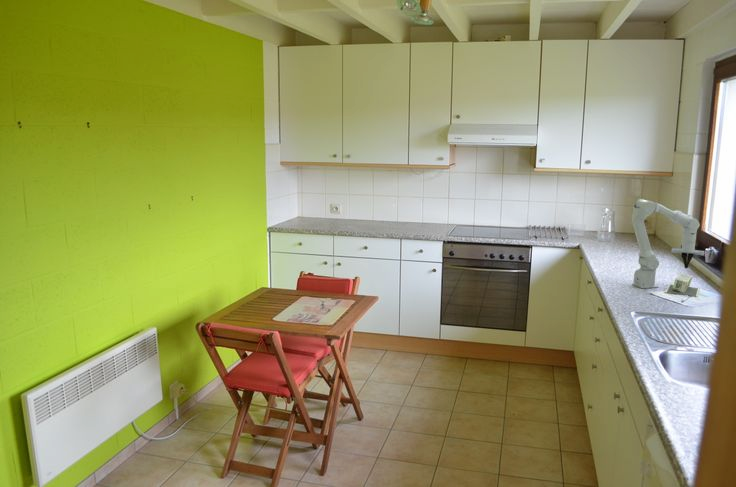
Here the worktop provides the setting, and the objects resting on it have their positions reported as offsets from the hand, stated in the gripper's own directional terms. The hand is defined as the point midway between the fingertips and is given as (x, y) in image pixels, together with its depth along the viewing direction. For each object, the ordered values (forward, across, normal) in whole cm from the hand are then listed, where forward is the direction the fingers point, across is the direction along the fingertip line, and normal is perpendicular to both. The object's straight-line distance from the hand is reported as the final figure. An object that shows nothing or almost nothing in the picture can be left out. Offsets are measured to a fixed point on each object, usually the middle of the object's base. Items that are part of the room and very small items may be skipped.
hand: (686, 267), depth 296 cm
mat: (+9, 0, +11) cm, 15 cm away
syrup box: (+6, 0, +1) cm, 6 cm away
